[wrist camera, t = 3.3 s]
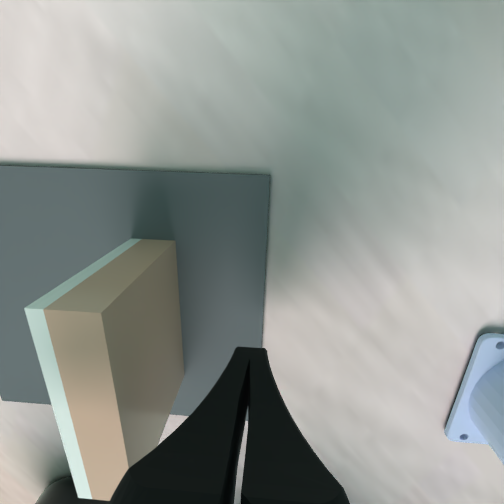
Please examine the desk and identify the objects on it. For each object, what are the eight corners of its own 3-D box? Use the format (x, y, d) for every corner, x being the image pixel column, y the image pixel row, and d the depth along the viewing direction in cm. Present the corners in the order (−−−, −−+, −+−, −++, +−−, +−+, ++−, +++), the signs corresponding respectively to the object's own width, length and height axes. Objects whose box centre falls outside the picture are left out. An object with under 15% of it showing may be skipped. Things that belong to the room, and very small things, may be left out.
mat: (269, 174, 14) (269, 175, 14) (258, 417, 19) (257, 421, 19) (-78, 162, 15) (-85, 162, 15) (6, 396, 20) (2, 400, 20)
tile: (175, 240, 15) (100, 312, 9) (184, 375, 18) (135, 503, 12) (130, 238, 15) (24, 308, 9) (147, 372, 18) (78, 497, 12)
